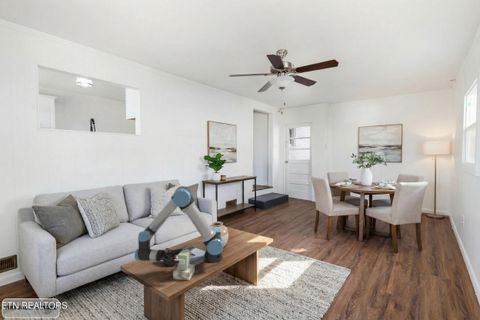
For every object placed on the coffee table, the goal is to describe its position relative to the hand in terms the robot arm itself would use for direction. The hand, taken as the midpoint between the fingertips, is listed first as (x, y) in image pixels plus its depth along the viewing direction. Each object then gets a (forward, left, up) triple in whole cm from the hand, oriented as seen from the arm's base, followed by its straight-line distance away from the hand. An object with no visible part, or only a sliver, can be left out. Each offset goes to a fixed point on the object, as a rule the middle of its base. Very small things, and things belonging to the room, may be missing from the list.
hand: (187, 257), depth 157 cm
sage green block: (+3, 0, -8) cm, 8 cm away
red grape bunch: (+19, -15, -13) cm, 27 cm away
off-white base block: (+3, 0, -13) cm, 13 cm away
